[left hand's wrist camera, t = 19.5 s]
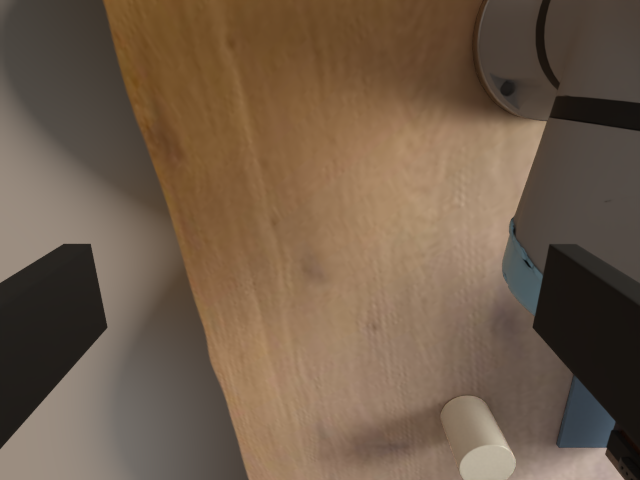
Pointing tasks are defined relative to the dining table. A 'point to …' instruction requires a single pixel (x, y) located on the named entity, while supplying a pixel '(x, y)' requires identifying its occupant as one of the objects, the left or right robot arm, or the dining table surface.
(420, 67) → the dining table surface
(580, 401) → the felt mat
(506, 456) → the white canister
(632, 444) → the walnut beam
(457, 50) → the dining table surface
